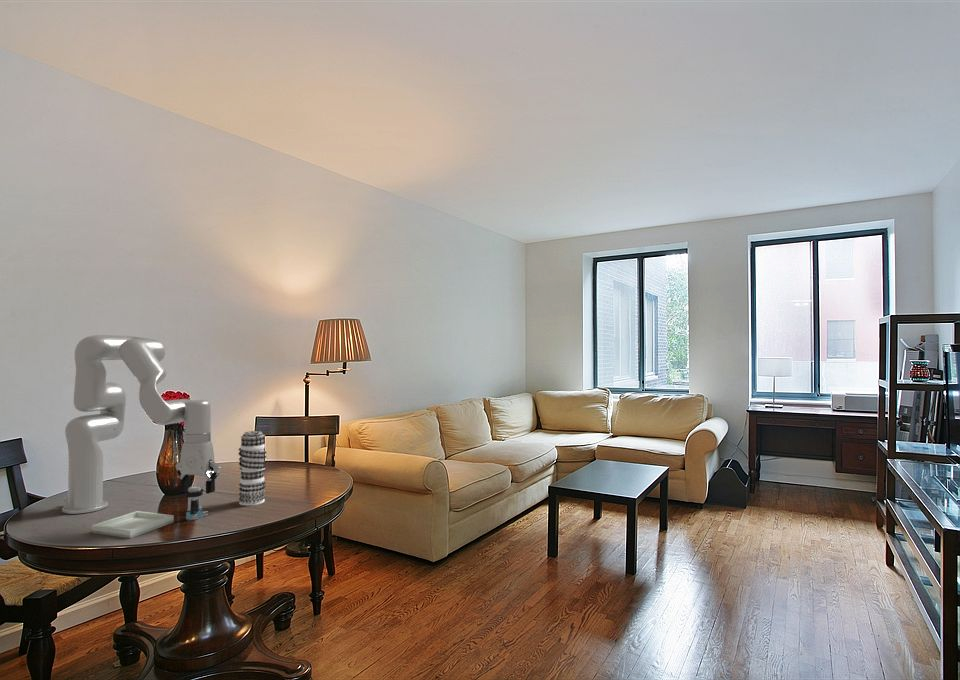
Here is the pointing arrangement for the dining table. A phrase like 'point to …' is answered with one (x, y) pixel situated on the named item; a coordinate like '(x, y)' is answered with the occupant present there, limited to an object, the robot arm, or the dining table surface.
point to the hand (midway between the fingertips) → (198, 491)
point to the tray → (132, 524)
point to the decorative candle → (252, 468)
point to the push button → (194, 503)
